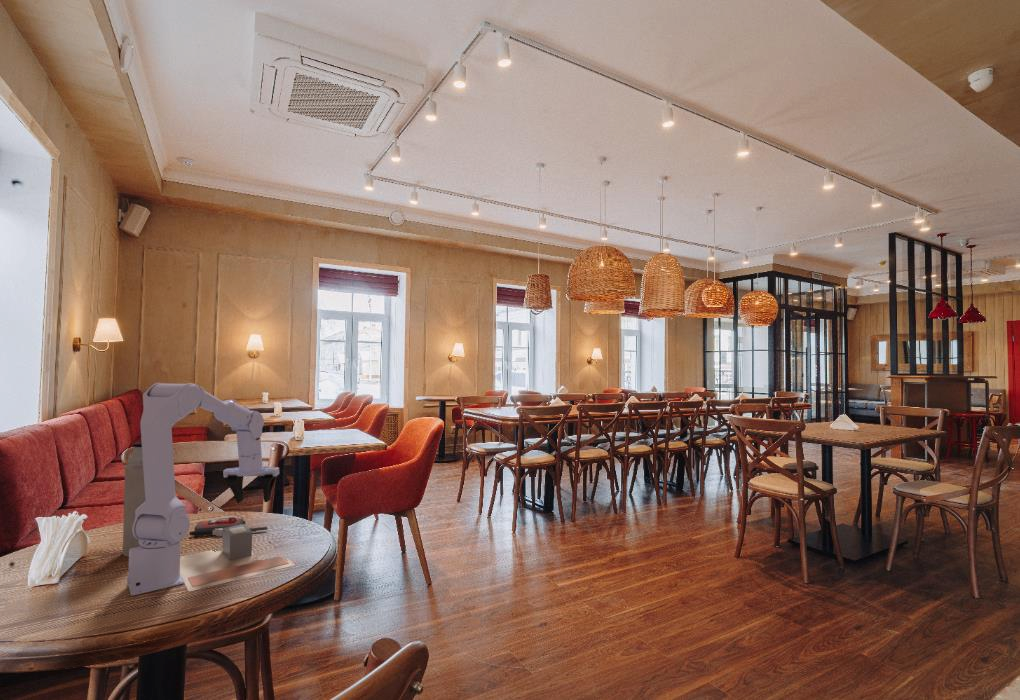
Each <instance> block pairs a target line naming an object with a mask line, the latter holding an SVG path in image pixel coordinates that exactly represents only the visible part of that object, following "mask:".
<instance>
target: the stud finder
mask: <svg viewBox="0 0 1020 700" xmlns="http://www.w3.org/2000/svg"><path fill="white" fill-rule="evenodd" d="M221 541H222V542H221V546H222V547H221V548H222V552H223V553H224V554H225V556H226V557H227V558H228V560H229V561H231V560H236V559H240V558H244V557H249V556H252V541H253V532H252V531H251V530H250V529H249V527H248V526H247V525H246V524H245V525H244V524H242V525H236V526H231V527H226V528H223V536H222V538H221Z"/></svg>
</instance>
